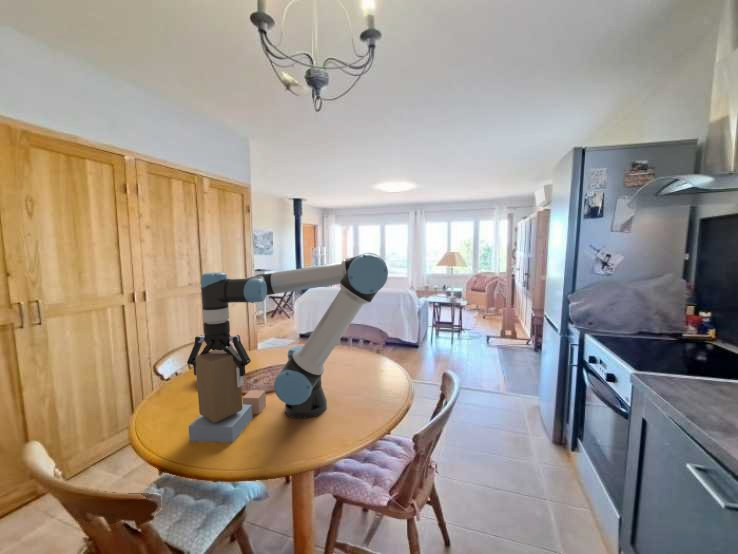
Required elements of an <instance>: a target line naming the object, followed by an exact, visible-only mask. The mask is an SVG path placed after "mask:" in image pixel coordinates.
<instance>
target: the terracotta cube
mask: <svg viewBox="0 0 738 554" xmlns="http://www.w3.org/2000/svg"><path fill="white" fill-rule="evenodd" d="M266 399H267V397H266V390H257V389H256V390H255V389H254V390H253V389H250V390H249V391H247V392H246V393H245V395H244V396H242V404H245V405H252V415H260V414H261V413H262V411H263V410H264V409H265V408H266V406H267V400H266Z"/></svg>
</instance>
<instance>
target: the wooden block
mask: <svg viewBox="0 0 738 554" xmlns="http://www.w3.org/2000/svg"><path fill="white" fill-rule="evenodd" d="M236 355H237V356H239V354H238V352H237V351H236ZM195 359H196V373H197V377H196V387H197V397H198V412H199V415H202V416H204V417H206V418H207V419H209V420H211V421H212V422H218V421H220V420H222V419H225V418H227V417H229V416H231V415H233V414H235V413H237V412H239V411H241V410H242V404H243V395H242V393H243V392H242V386H240V387H237V372H236V367H238V365H237V364H236V363H235V361H234V360H233V356H232V355H229V354H228V353H227V352H225V351H224V350H210V351H209V352H208V353H206V354H201V353H199V354H198V355H197V356H196V358H195Z"/></svg>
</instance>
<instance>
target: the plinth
mask: <svg viewBox="0 0 738 554" xmlns="http://www.w3.org/2000/svg"><path fill="white" fill-rule="evenodd" d="M253 416H254V415H253V414H252V405H245V404H243V403H242V410H241V411H239V412H237V413H235V414H233V415H231V416H229V417H227V418H225V419H222V420H220V421H218V422H212V421H211V420H209V419H207V418H206V417H204V416H202V415H201V414H199V416H198V417H196V419H195V420H193V421H192V422H191V423H190V424H188V438H189V440H188V441H189V442H205V443H230V444H231V443H234V442H235V441H236V439H237V438H238V437H239V436H240V435H241V433H242V432H243V431H244V430H245V428H246V427H247V426H248V425H249V423H250V422H251V421H252V420H253V419H254V418H253Z"/></svg>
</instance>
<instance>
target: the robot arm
mask: <svg viewBox="0 0 738 554" xmlns="http://www.w3.org/2000/svg"><path fill="white" fill-rule="evenodd" d="M388 275H389V271H388V266H387V264H386V262H385V261H384V259H383V258H382V257H381V256H379V255H378V254H376V253H373V252H364V253H361V254H358V255H356V256H353V257H347V258H344V259H343V260H342V261H341V262H335V263H328V264H320V265H315V266H308V267H303V268H296V269H295V268H294V269H289V270H283V271H277V272H272V273H270V272H269V273H260V274H256V275H254V276H250V277H246V278H228V275H227V273H226V272H208V273H207V272H206V273H203V274H202V275H201V277H200V289H201V302H202V320H203V334H204V335H203V334H199V335H196V336H195V338H194V344H193V347H192V349H191V352H190V354H189V357H188V359H187V361H186V363H187V365H191V366H192V367H193V375H194V376H195V377H196V378H197V373H196V359H195V358H196V356H197V355H199V351H200V354H206V353H208V352H210V351H214V350H224V351H225V352H227V353H228V354H229V355H232V356H233V360H234V361H235V363H236V364H237V365H238V367H236V372H237V387H240V386H241V387H242V386H243V385H244V376H245V375H246V366H247V365H248V364H250V363H251V361H252V360H251V357H250V356H249V354H248V352H247V350H246V349H245V347H244V345H243V343H242V341H241V336H240V334H237V335H234V336H231V334H230V332H231V328H230V327H231V326H230V324H231V323H230V321H229V319H230V310H229V308H230V307H229V303H251V304H255V303H263V302H264V301H265V300H266V298H267V296H269V295H270V296H271V295H276V294H283V293H289V292H295V291H303V290H309V289H315V288H323V287H329V286H335V285H336V286H337V285H339V287H340V289H339V291H338V293H337V295H336V296H335V297H334V298H333V300H332V302H331V303H330V305H329V307H328V308H327V309H326V311H325V312H324V314H323V315H322V317H321V319H320V321H318V323H317V325H316V326H315V328H314V329H313V331H312V333H310V335H309V337H308V338H307V340H306V342H305V343H304V344H303V345H301V346H294V347H291V348H288V349H289V350H288V351H287V359H288V360H287V362H286V364H285V365H284V366H283V368H282V369H281V371H280V372H278V374H277V375H276V377H275V380H274V385H273V388H274V389H273V390H274V393H275V395H276V397H277V398H278V400H280V401H281V402H283V403H284V408H285V413H286V415H287V416H289V417H291V418H295V419H310V418H315V417H317V416H319V415H321V414H322V413H324V412H325V411H326V409H327V408H328V407H327V406H328V405H327V404H328V403H327V402H328V401H327V398H326V395H325V392H324V389H323V386H322V375H323V374H324V373H325V368H324V364H325V362H326V361H327V360H328V358H329V356H330V355H331V354H332V352H333V351H334V349H335V348H336V346H337V344H338V343H339V341H340V340H341V338H342V337H343V335H344V334H345V333H346V331H347V330H348V328H349V326H351V323H352V322H353V321H354V319H355V318H356V316H357V315H358V313H359V311H360V310H361V308H362V307H363V306H364V305H366V304H370V303H371V302H372V301H373V300H374V298H375V296H376V295H377V294H378V292H379V291H380V290H381V289H382V288H383V287H385V284H386V283H387V281H388ZM203 343H205V344H206V345H204V348H203V349H202V351H201V350H200V349H201V347H202V346H203ZM232 344H233V345H232ZM233 346H234V347H233ZM236 352H237V353H238V354H239V356H237V355H236Z"/></svg>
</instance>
